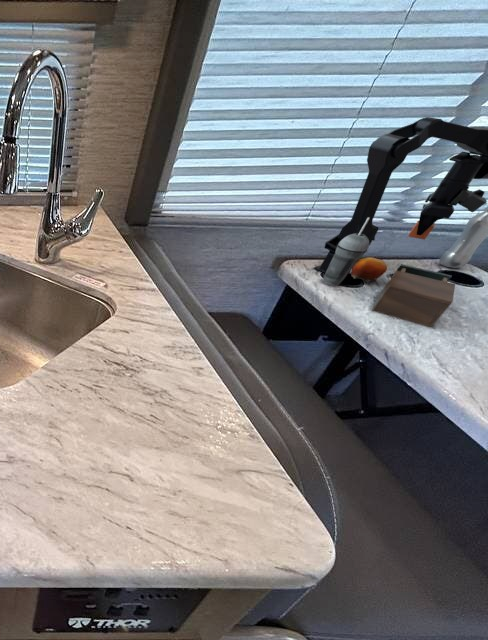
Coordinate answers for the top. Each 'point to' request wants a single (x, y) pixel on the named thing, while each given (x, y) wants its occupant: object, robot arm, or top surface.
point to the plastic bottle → (467, 242)
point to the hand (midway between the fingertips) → (419, 233)
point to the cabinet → (415, 298)
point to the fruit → (368, 269)
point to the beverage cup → (346, 257)
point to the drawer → (424, 273)
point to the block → (414, 234)
